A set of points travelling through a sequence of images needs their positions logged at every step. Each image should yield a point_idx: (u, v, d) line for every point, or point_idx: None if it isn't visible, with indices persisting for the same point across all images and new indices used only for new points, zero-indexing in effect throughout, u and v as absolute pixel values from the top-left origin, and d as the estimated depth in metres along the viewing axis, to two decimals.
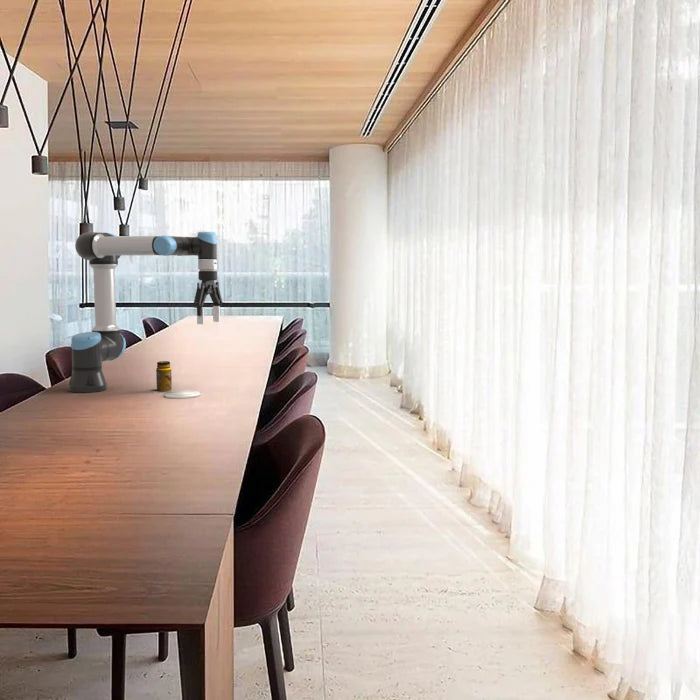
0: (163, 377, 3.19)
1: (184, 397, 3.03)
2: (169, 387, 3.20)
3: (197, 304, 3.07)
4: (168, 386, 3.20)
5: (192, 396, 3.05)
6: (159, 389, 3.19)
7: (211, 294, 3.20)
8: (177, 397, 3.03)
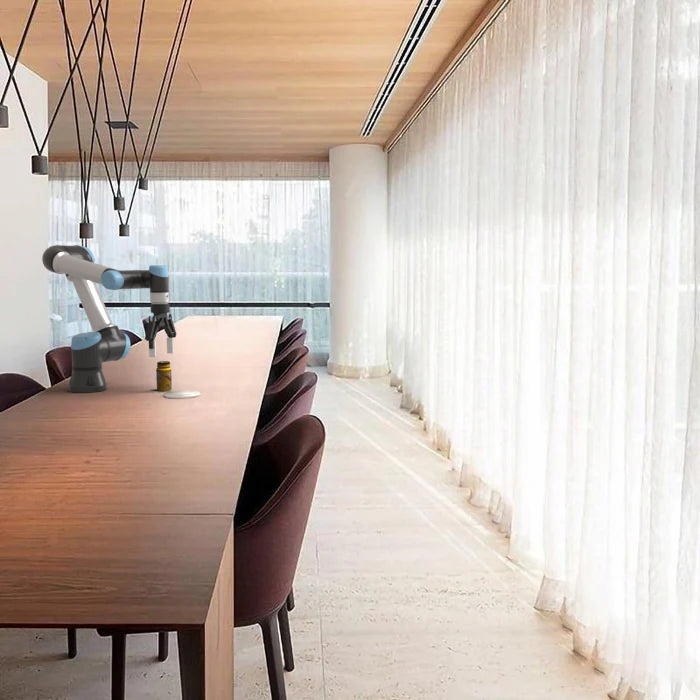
0: (163, 377, 3.19)
1: (184, 397, 3.03)
2: (169, 387, 3.20)
3: (148, 337, 3.09)
4: (168, 386, 3.20)
5: (192, 396, 3.05)
6: (159, 389, 3.19)
7: (164, 326, 3.22)
8: (177, 397, 3.03)
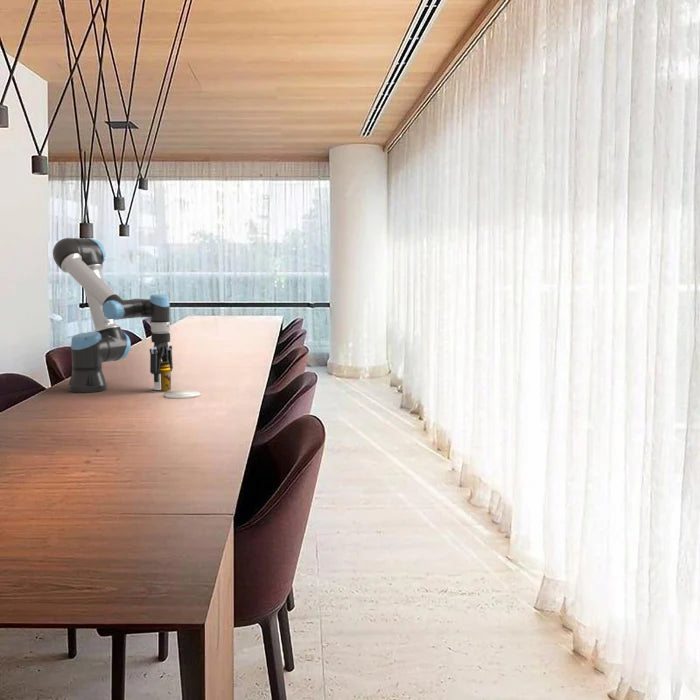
0: (163, 377, 3.18)
1: (184, 397, 3.03)
2: (168, 387, 3.20)
3: (154, 371, 3.14)
4: (167, 386, 3.19)
5: (192, 396, 3.05)
6: None
7: (163, 357, 3.22)
8: (177, 397, 3.03)
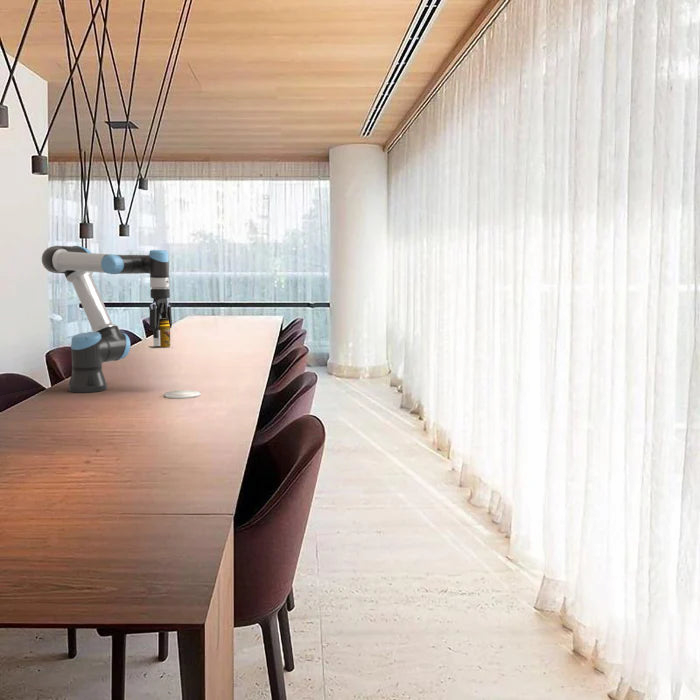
0: (162, 334, 3.16)
1: (184, 397, 3.03)
2: (168, 344, 3.18)
3: (153, 327, 3.12)
4: (167, 342, 3.17)
5: (192, 396, 3.05)
6: None
7: (162, 313, 3.20)
8: (177, 397, 3.03)
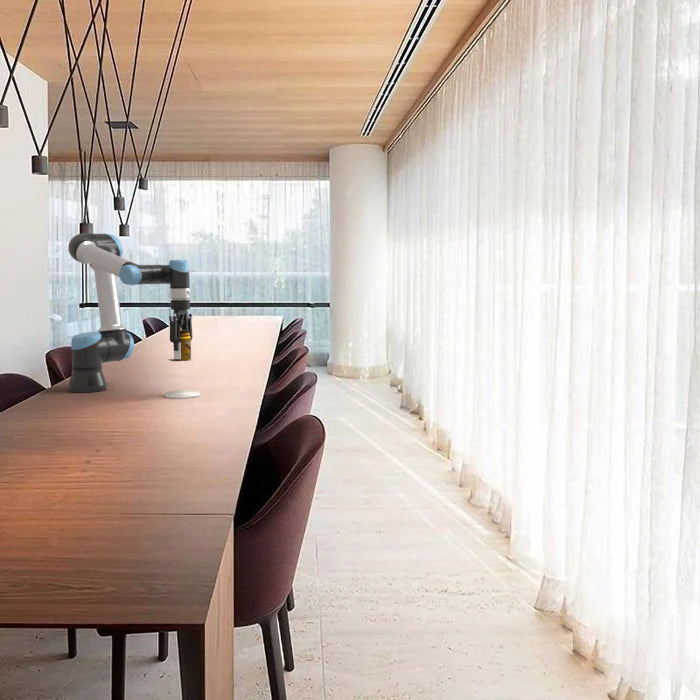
0: (183, 346, 3.04)
1: (184, 397, 3.03)
2: (188, 356, 3.06)
3: (173, 339, 3.01)
4: (187, 355, 3.06)
5: (192, 396, 3.05)
6: None
7: (182, 325, 3.09)
8: (177, 397, 3.03)
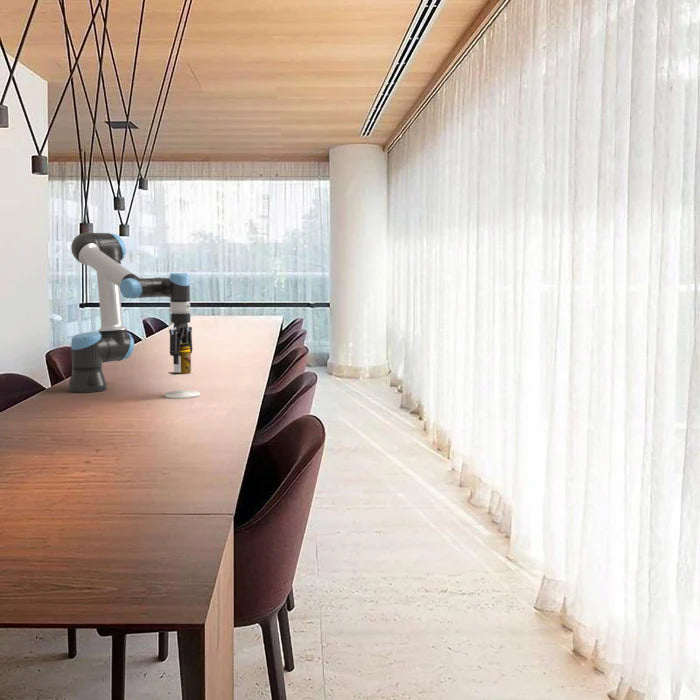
0: (183, 359, 3.05)
1: (184, 397, 3.03)
2: (188, 370, 3.07)
3: (173, 353, 3.02)
4: (187, 369, 3.07)
5: (192, 396, 3.05)
6: None
7: (182, 338, 3.09)
8: (177, 397, 3.03)
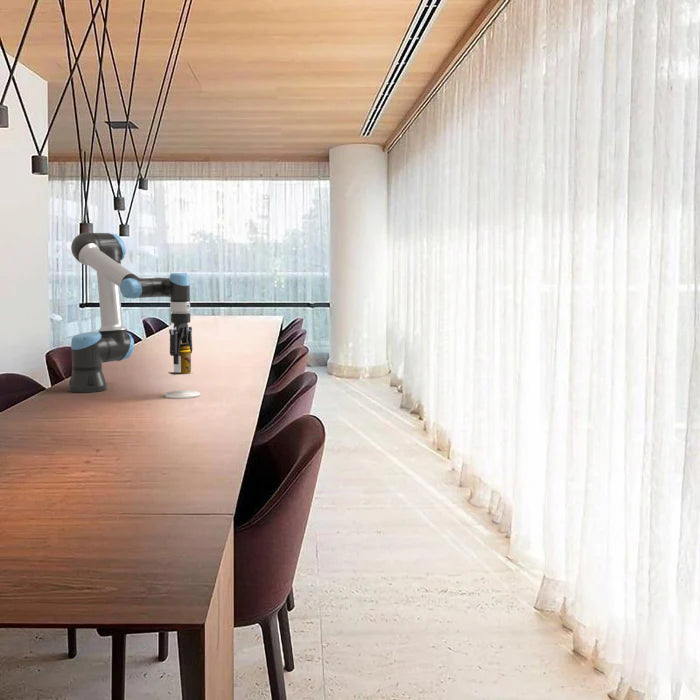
0: (183, 359, 3.05)
1: (184, 397, 3.03)
2: (188, 370, 3.07)
3: (173, 353, 3.02)
4: (187, 369, 3.07)
5: (192, 396, 3.05)
6: None
7: (182, 338, 3.09)
8: (177, 397, 3.03)
